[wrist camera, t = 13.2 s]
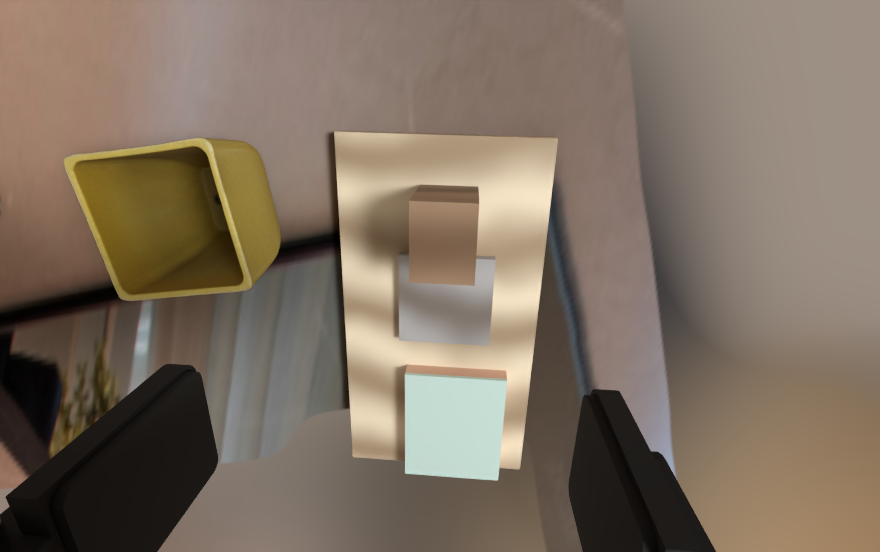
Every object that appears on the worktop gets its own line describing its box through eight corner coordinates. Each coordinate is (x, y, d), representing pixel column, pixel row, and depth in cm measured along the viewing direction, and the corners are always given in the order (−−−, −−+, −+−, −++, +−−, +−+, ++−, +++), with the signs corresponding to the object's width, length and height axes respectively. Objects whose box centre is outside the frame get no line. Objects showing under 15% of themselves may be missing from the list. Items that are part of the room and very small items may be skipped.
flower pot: (203, 257, 35) (117, 303, 27) (166, 144, 32) (57, 156, 24) (307, 246, 34) (253, 290, 26) (279, 129, 31) (208, 136, 23)
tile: (404, 374, 34) (405, 473, 38) (507, 381, 34) (497, 480, 37) (407, 364, 36) (407, 460, 39) (506, 370, 35) (497, 467, 39)
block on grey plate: (399, 183, 31) (382, 199, 25) (500, 187, 30) (505, 204, 25) (400, 335, 35) (386, 378, 29) (488, 340, 34) (491, 385, 29)
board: (339, 130, 31) (334, 131, 30) (554, 137, 30) (557, 138, 29) (356, 447, 41) (352, 456, 40) (518, 459, 40) (519, 469, 39)
